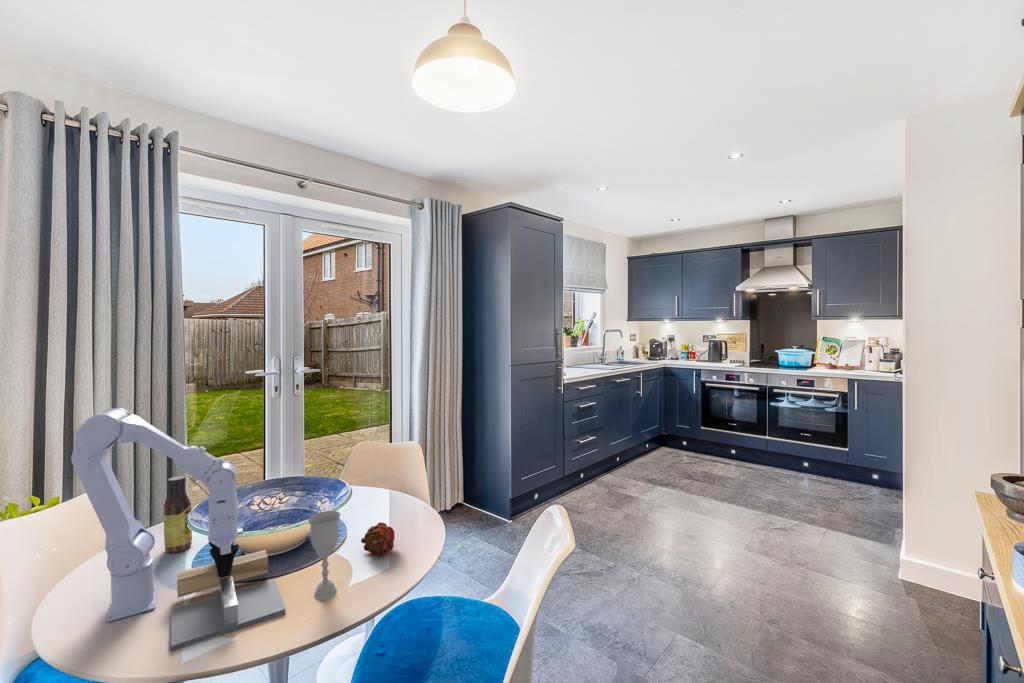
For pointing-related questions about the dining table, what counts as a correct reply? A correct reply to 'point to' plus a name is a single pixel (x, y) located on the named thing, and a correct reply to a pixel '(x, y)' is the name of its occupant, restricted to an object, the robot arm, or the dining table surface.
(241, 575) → the oak bar
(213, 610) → the slate base plate
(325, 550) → the chalice
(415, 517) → the dining table surface
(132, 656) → the dining table surface
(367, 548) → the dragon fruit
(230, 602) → the steel ridge
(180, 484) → the sauce bottle
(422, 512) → the dining table surface
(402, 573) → the dining table surface
